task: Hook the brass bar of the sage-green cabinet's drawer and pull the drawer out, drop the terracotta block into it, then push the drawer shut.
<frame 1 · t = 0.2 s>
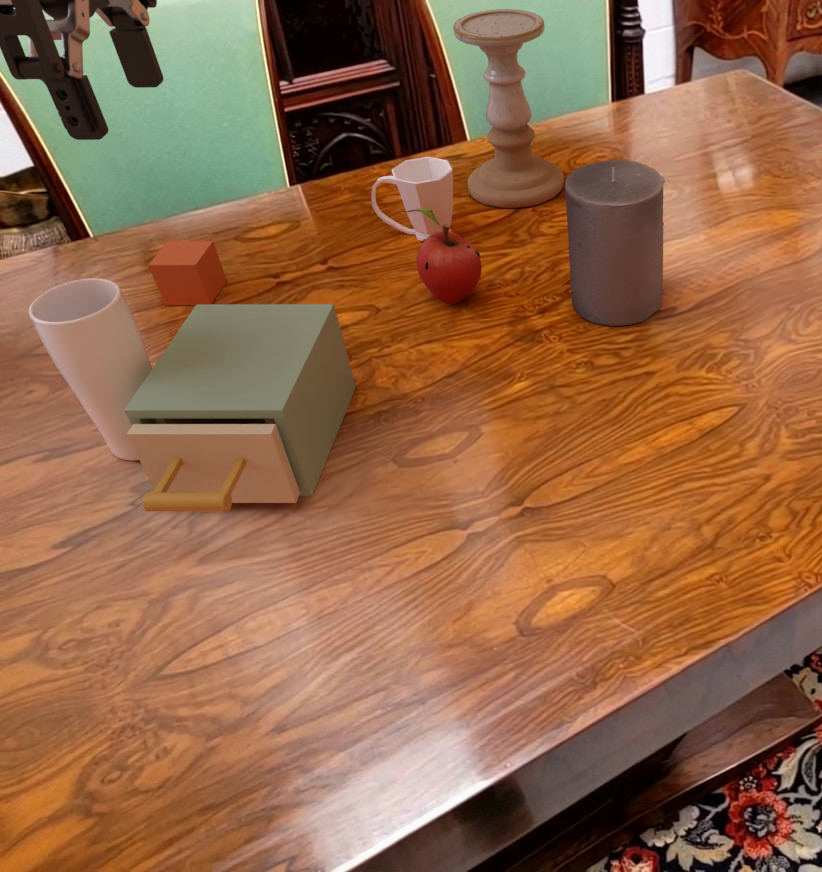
hand: (120, 110, 61), 31 cm above the table, tool pointing down, fingers open, 8 cm apart
apple: (451, 298, 100), on the table
cabinet: (267, 438, 83), on the table
drawer: (232, 434, 76), point 5 cm above the table, slide at 0.5 cm
block: (196, 293, 102), on the table
pillar candle: (618, 303, 99), on the table
candle holder: (516, 188, 120), on the table
cup: (421, 234, 111), on the table
drinking glass: (145, 445, 83), on the table
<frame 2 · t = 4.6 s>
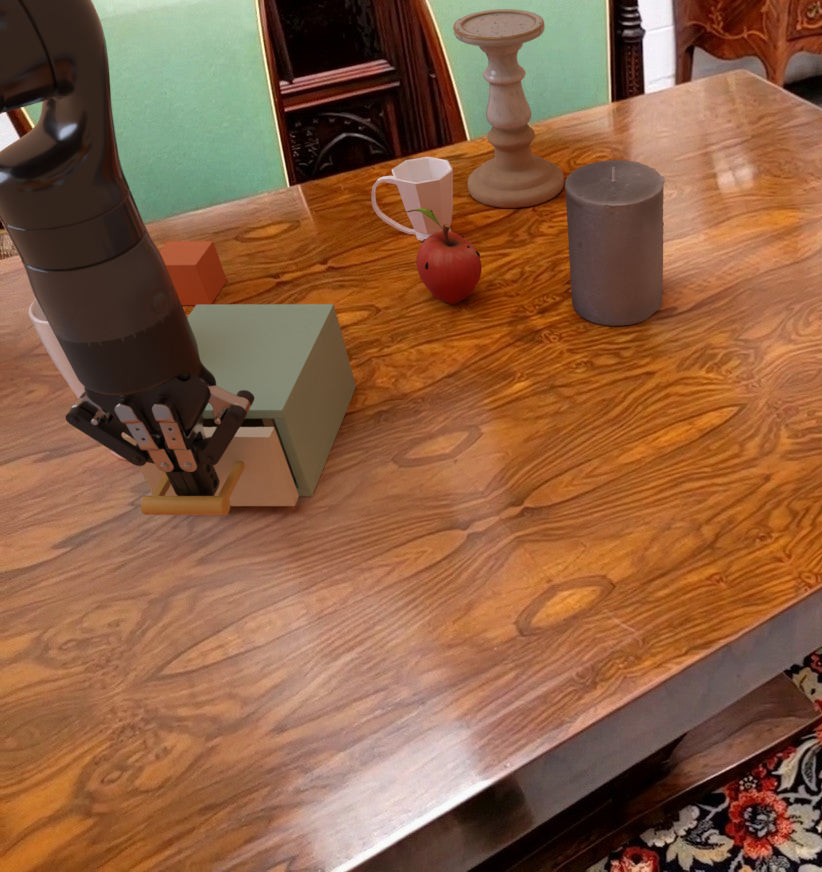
hand: (202, 497, 71), 5 cm above the table, tool pointing down, fingers closed
drawer: (230, 437, 76), point 5 cm above the table, slide at 0.9 cm, touching gripper
everything else where it was.
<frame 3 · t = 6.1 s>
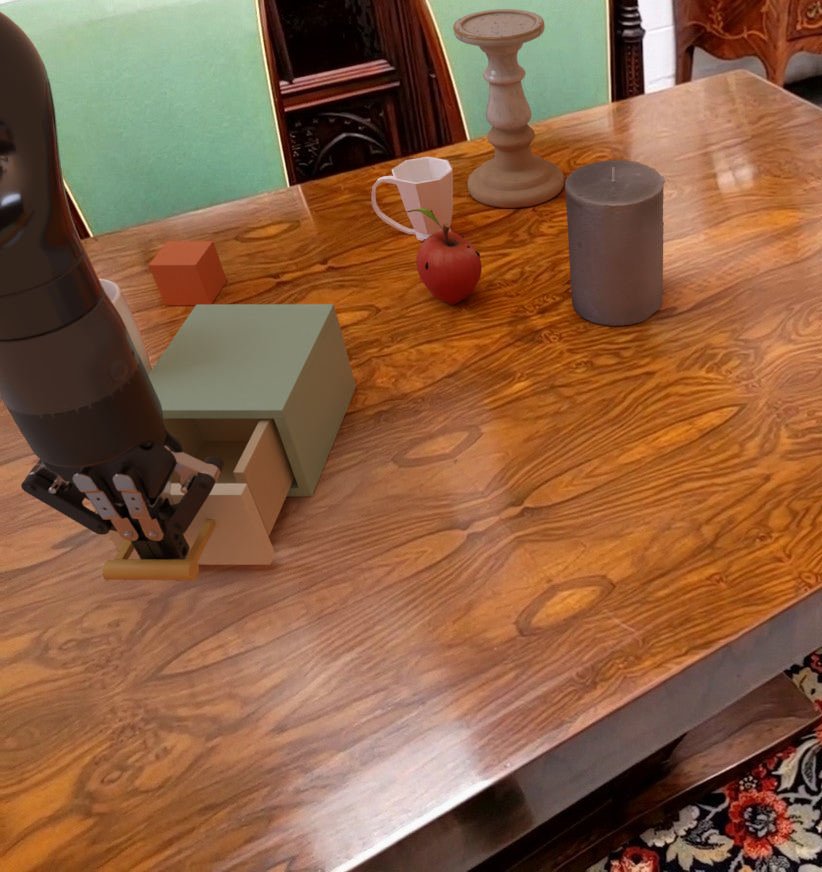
hand: (170, 564, 67), 4 cm above the table, tool pointing down, fingers closed
drawer: (202, 490, 71), point 5 cm above the table, slide at 7.1 cm, touching gripper
everything else where it was.
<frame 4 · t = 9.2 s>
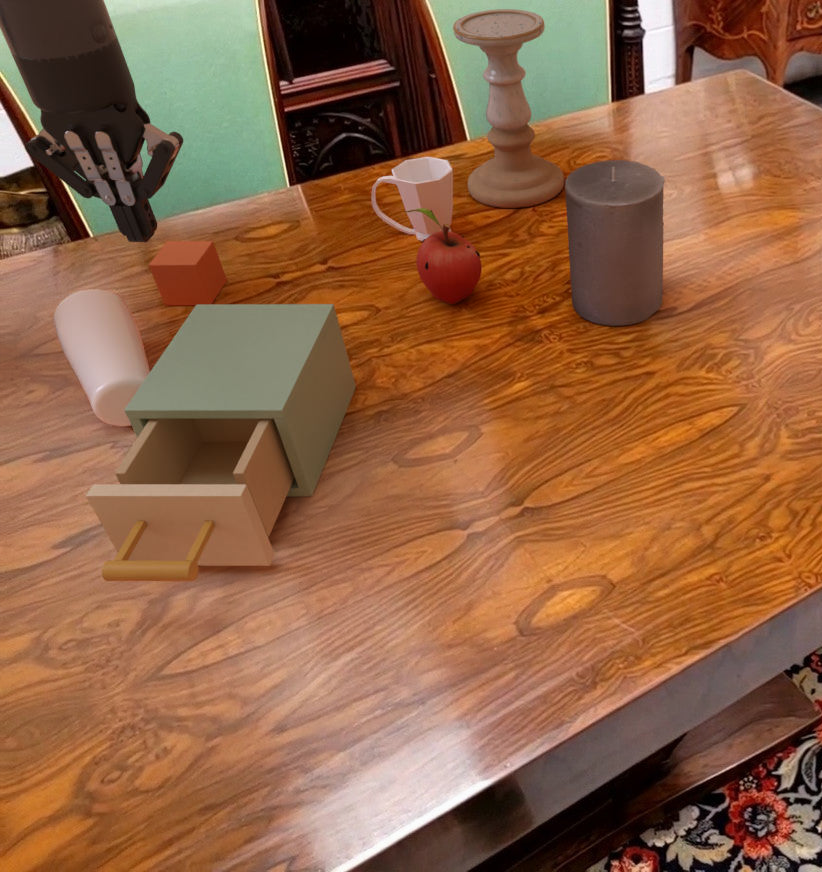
hand: (142, 237, 84), 13 cm above the table, tool pointing down, fingers closed
drawer: (202, 491, 71), point 5 cm above the table, slide at 7.2 cm
drinking glass: (127, 406, 83), point 3 cm above the table
everything else where it was.
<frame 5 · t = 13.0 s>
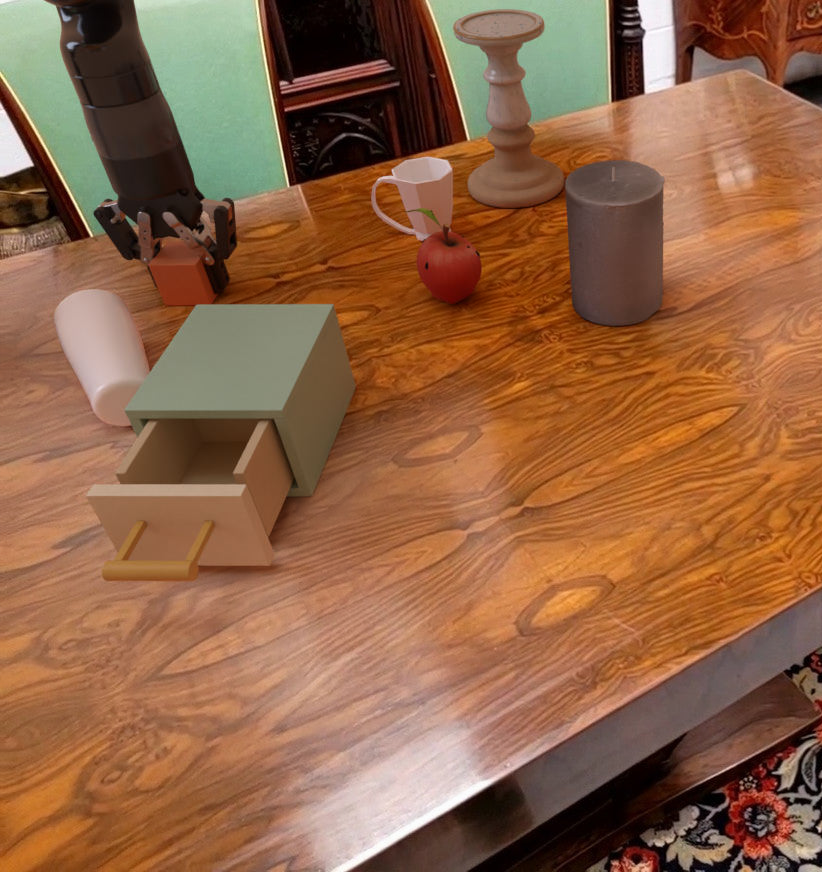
hand: (195, 289, 101), 0 cm above the table, tool pointing down, fingers closed on block, 5 cm apart
block: (196, 293, 102), on the table, touching gripper
everything else where it was.
when the fingers open (13 cm above the table, at t = 19.8 s): block drops 11 cm, resting on drawer.
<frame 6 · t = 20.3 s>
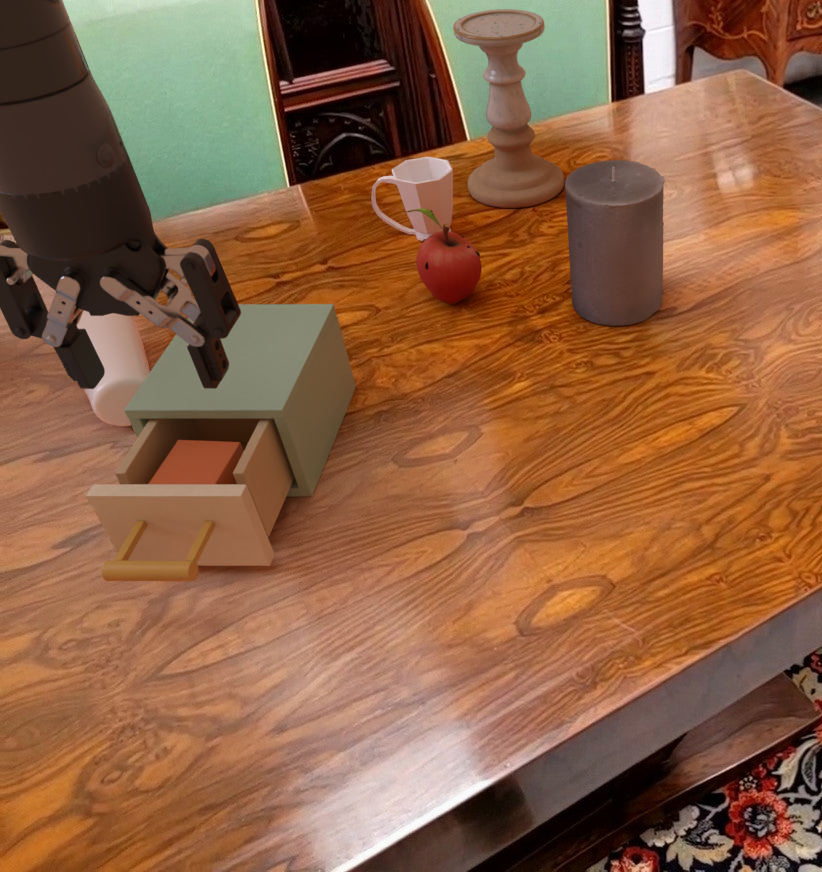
hand: (154, 381, 65), 15 cm above the table, tool pointing down, fingers open, 8 cm apart
drawer: (202, 491, 71), point 5 cm above the table, slide at 7.2 cm, touching block
block: (216, 509, 73), point 2 cm above the table, touching drawer
everything else where it was.
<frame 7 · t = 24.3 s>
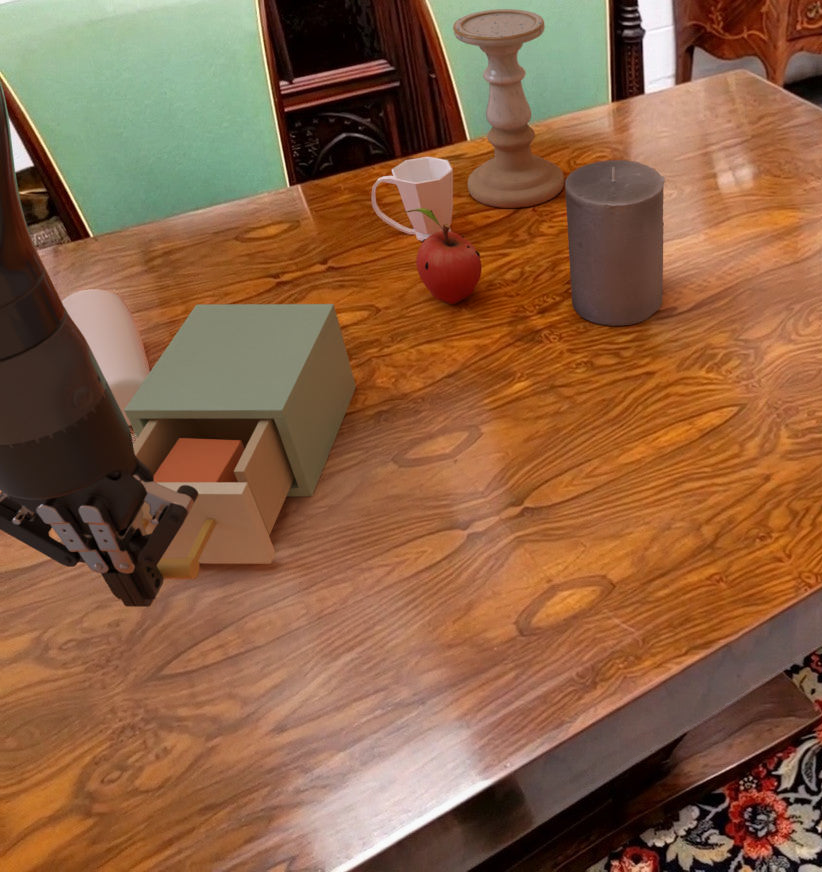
hand: (143, 596, 63), 5 cm above the table, tool pointing down, fingers closed
nothing on the table moved.
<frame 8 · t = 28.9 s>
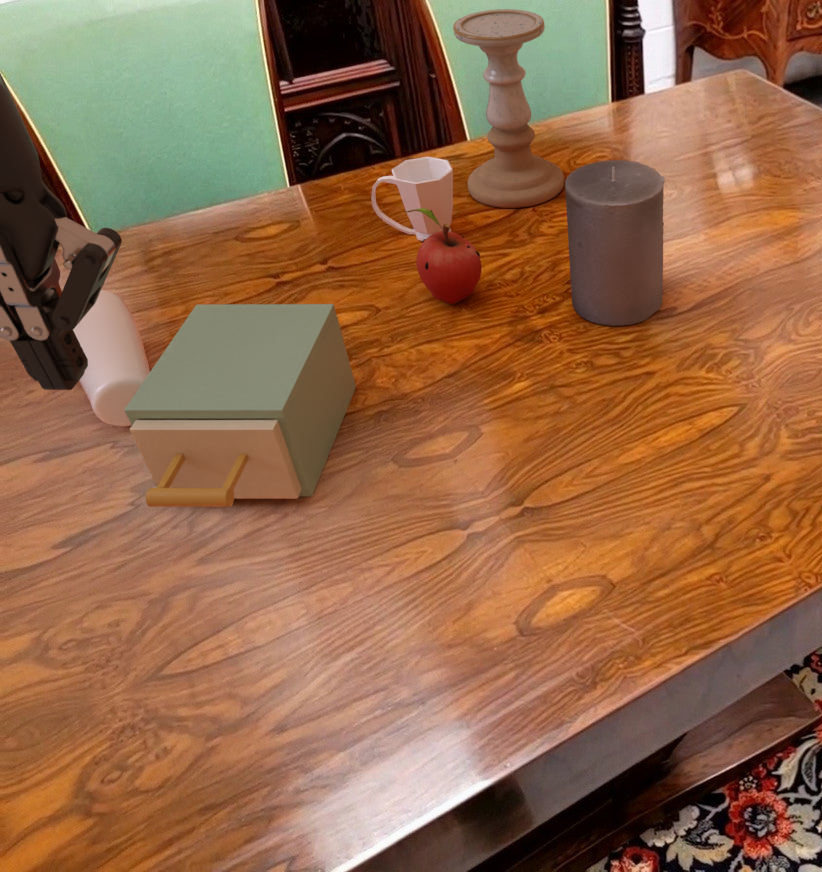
hand: (65, 381, 55), 21 cm above the table, tool pointing down, fingers closed
drawer: (234, 430, 77), point 5 cm above the table, slide at 0.0 cm, touching block, cabinet
block: (246, 448, 79), point 2 cm above the table, touching drawer
everything else where it was.
at the end: drawer pulled out 7.2 cm at the most during the clip, back to where it started at the end; block inside the target area in the cabinet (3.7 cm from its centre), point 2.1 cm above the cabinet's base; drawer slide at 0.0 cm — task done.
